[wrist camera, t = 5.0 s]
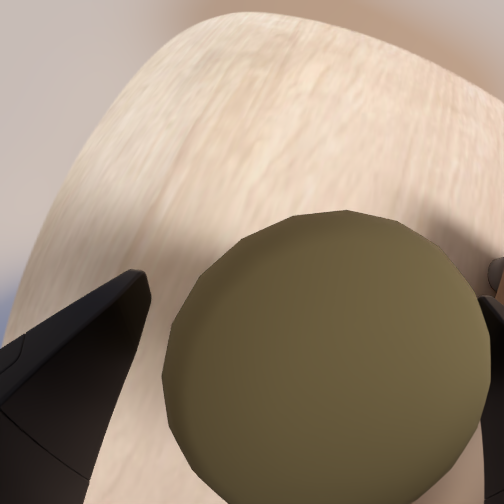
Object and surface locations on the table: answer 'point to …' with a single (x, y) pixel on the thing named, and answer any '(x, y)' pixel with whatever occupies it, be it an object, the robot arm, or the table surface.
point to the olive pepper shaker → (327, 365)
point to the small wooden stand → (471, 460)
